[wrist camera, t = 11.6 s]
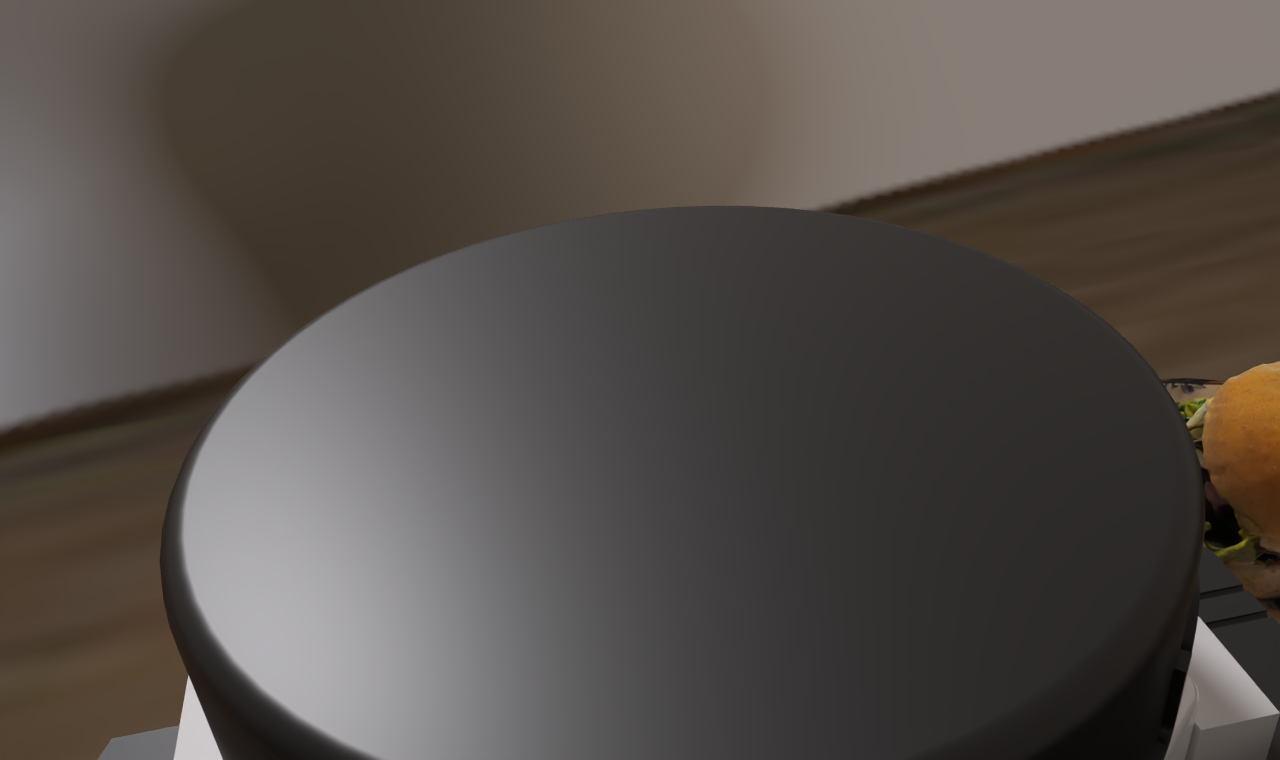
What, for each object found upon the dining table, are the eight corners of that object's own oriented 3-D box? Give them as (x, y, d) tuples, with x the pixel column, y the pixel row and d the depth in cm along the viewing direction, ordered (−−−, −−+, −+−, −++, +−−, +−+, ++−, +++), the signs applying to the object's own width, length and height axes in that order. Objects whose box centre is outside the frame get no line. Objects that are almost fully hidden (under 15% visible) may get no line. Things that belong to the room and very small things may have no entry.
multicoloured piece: (1378, 422, 33) (1454, 172, 29) (1649, 764, 23) (1821, 459, 19) (941, 434, 34) (956, 196, 30) (1024, 765, 25) (1064, 477, 21)
